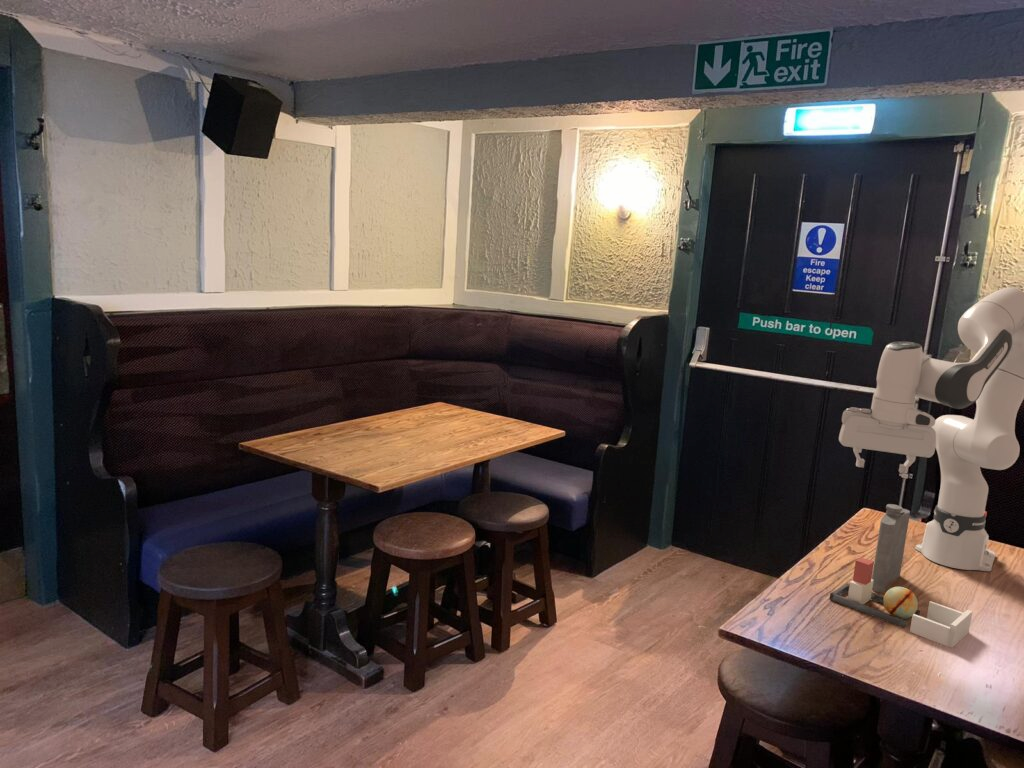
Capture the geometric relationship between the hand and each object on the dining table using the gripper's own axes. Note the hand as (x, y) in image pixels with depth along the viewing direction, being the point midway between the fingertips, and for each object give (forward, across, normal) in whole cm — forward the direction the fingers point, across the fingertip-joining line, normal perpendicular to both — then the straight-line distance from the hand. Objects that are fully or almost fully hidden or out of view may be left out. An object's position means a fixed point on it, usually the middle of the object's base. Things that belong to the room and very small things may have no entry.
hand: (881, 469), depth 181 cm
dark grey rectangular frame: (+32, +2, -6) cm, 32 cm away
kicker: (+32, 0, -4) cm, 32 cm away
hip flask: (+31, +8, +11) cm, 34 cm away
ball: (+32, +7, -9) cm, 34 cm away
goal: (+31, +14, -14) cm, 37 cm away
